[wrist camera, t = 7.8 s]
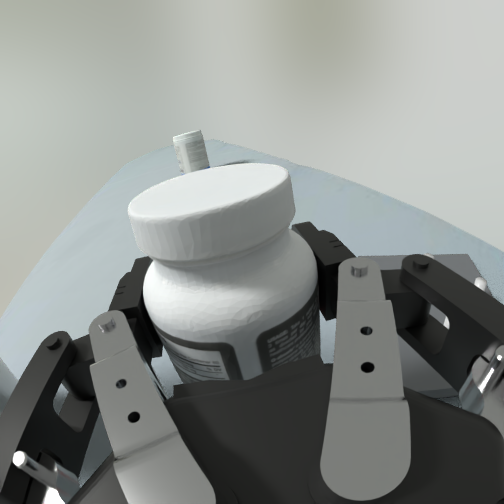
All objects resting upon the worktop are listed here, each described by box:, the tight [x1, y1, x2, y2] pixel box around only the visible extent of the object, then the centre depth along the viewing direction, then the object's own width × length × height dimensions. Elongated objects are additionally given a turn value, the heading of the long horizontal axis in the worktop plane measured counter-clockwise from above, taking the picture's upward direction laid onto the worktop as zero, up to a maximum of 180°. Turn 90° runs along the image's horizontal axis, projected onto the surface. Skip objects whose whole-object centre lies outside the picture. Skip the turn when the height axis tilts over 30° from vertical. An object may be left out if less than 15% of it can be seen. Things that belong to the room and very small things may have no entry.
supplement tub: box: [173, 130, 210, 175], centre depth 89 cm, size 10×10×15 cm
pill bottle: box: [128, 163, 320, 384], centre depth 10 cm, size 6×6×10 cm
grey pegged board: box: [358, 253, 493, 398], centre depth 22 cm, size 14×18×4 cm
